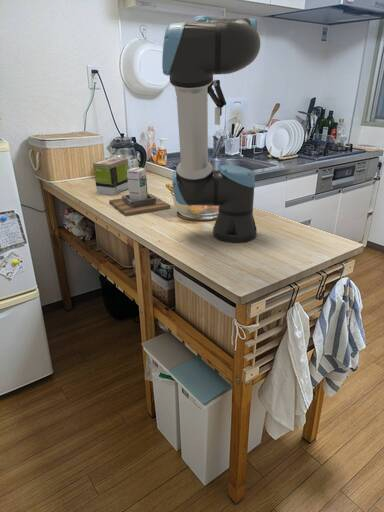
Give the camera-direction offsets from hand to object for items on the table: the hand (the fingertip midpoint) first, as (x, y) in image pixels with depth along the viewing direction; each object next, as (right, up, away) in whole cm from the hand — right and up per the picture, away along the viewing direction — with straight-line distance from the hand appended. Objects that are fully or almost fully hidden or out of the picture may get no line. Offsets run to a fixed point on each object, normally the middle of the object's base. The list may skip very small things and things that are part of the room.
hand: (202, 125), depth 148 cm
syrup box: (-27, -29, +13) cm, 42 cm away
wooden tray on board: (-27, -30, +13) cm, 43 cm away
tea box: (-43, -20, +37) cm, 60 cm away
